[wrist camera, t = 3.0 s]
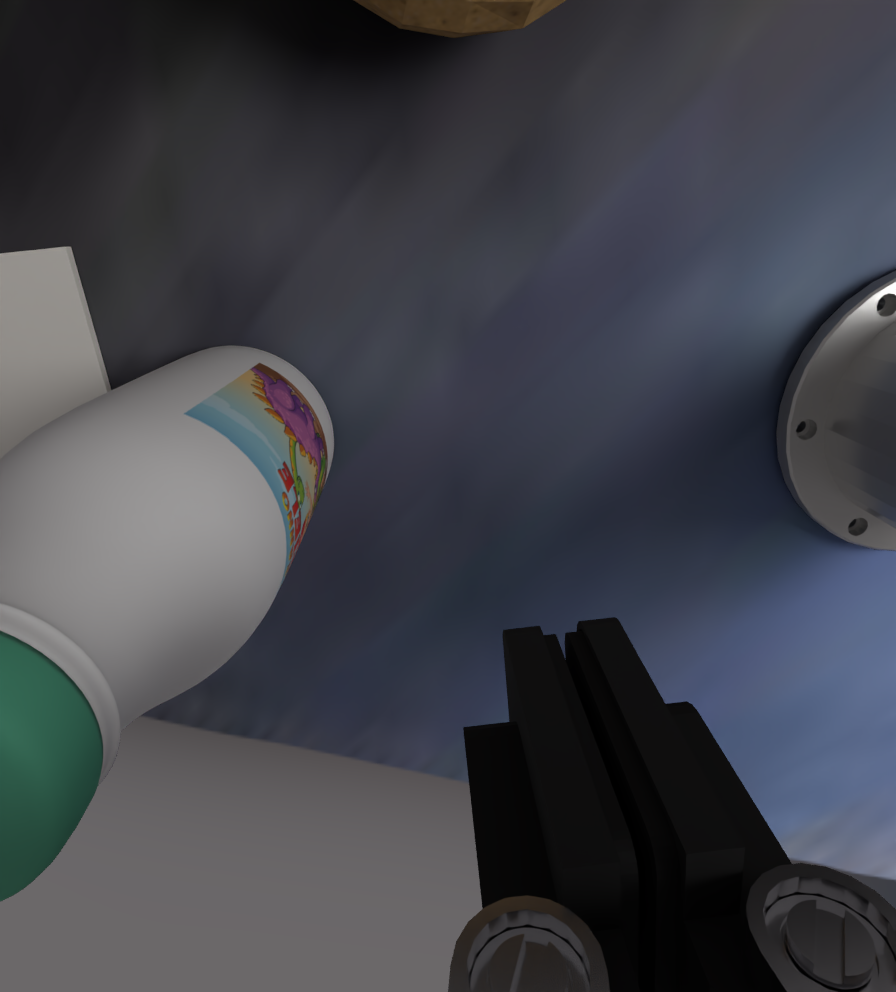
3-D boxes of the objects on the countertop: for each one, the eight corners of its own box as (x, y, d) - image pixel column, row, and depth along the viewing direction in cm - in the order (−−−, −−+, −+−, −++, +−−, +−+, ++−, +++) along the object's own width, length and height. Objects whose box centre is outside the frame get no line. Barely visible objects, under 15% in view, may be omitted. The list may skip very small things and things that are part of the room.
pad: (71, 246, 25) (65, 246, 25) (168, 592, 30) (165, 596, 30) (-139, 268, 25) (-147, 269, 25) (-4, 610, 30) (-9, 615, 30)
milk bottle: (154, 510, 29) (-334, 987, 10) (148, 331, 26) (-527, 536, 8) (331, 526, 30) (176, 1008, 11) (342, 354, 27) (162, 595, 8)
